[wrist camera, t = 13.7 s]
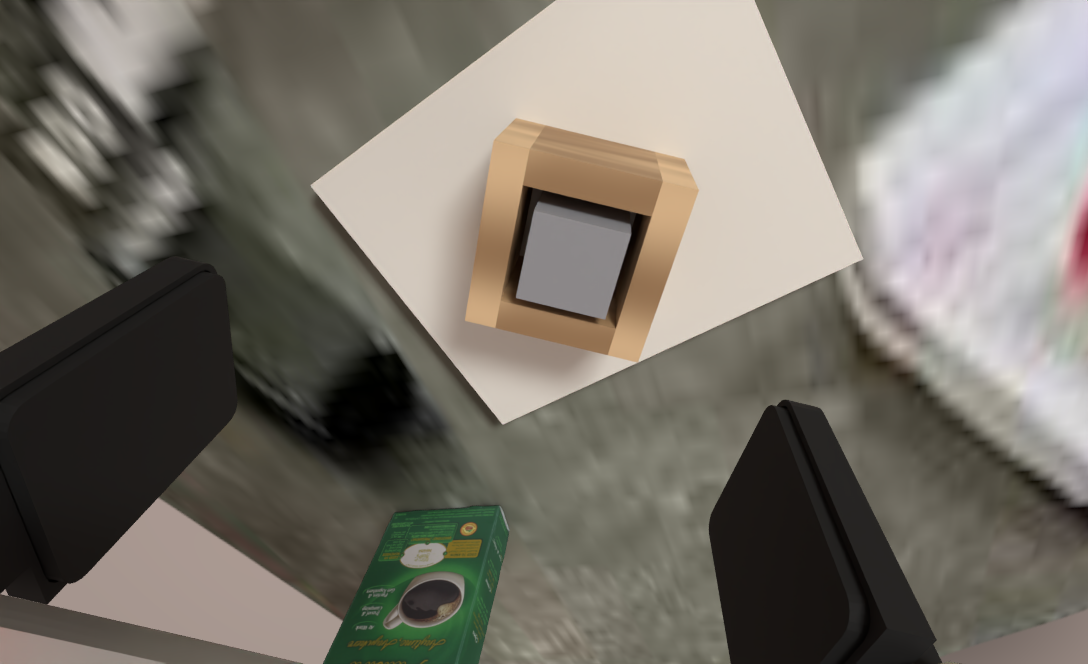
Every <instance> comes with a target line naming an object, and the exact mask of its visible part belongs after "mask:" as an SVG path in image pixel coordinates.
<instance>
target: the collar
mask: <svg viewBox="0 0 1088 664" xmlns="http://www.w3.org/2000/svg"><path fill="white" fill-rule="evenodd" d="M533 188H536V189H540V190H544V191H549V192H553V193H557V194H561V195H565V196H569V197H573V198H577V199H582V200H586V201H590V202H594V203H598V204H602V205H606V206H610V207H614V208H619V209H623V210H627V211H631V212H635V213H636V216H635V219H634V223H633V226H632V229H631V237H630V240H629V243H628V247H627V250H626V253H625V256H624V260H623V263H622V266H621V269H620V273H619V276H618V279H617V283H616V286H615V289H614V292H613V296H612V299H611V302H610V305H609V309H608V312H607V315H606V319H605V320H604V319H600V318H596V317H592V316H588V315H584V314H580V313H576V312H571V311H567V310H563V309H559V308H555V307H551V306H547V305H543V304H539V303H534V302H530V301H526V300H522V299H518V298H516V294H517V290H518V285H519V280H520V275H521V270H522V266H523V261H524V256H520V250H521V245H522V240H523V235H524V230H525V225H526V220H527V215H528V210H529V205H530V200H531V195H532V190H533ZM698 192H699V189H698V187H697V185H696V183H695V181H694V178H693V176H692V174H691V172H690V170H689V168H688V165H687V163H686V161H685V159H682V158H678V157H674V156H670V155H666V154H662V153H658V152H654V151H650V150H645V149H641V148H637V147H633V146H629V145H625V144H621V143H617V142H613V141H608V140H604V139H600V138H596V137H592V136H588V135H584V134H580V133H576V132H572V131H567V130H563V129H559V128H555V127H551V126H547V125H543V124H539V123H535V122H530V121H526V120H522V119H518V118H516V119H515V120H514V121H513V122H512V123H511V124H510V125H508V126H507V127H506V128H505V129H504V130H503V131H502V132H501V133H500V134H499V135H498V136H497V137H496V138H495V139H494V141H493V147H492V153H491V160H490V166H489V172H488V178H487V185H486V191H485V197H484V203H483V210H482V216H481V222H480V229H479V235H478V241H477V247H476V254H475V260H474V266H473V272H472V279H471V285H470V291H469V298H468V304H467V310H466V316H465V321H468V322H472V323H476V324H481V325H485V326H489V327H493V328H497V329H501V330H505V331H509V332H514V333H518V334H522V335H526V336H530V337H534V338H538V339H543V340H547V341H551V342H555V343H559V344H563V345H567V346H571V347H576V348H580V349H584V350H588V351H592V352H596V353H600V354H604V355H609V356H613V357H617V358H621V359H625V360H629V361H633V362H638V361H639V358H640V356H641V353H642V350H643V347H644V344H645V342H646V339H647V336H648V333H649V330H650V327H651V325H652V322H653V319H654V316H655V313H656V310H657V308H658V305H659V302H660V299H661V296H662V293H663V291H664V288H665V285H666V282H667V279H668V277H669V274H670V271H671V268H672V265H673V262H674V260H675V257H676V254H677V251H678V248H679V245H680V243H681V240H682V237H683V234H684V231H685V228H686V226H687V223H688V220H689V217H690V214H691V212H692V209H693V206H694V203H695V200H696V197H697V195H698Z"/></svg>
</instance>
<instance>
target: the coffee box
mask: <svg viewBox="0 0 1088 664" xmlns="http://www.w3.org/2000/svg"><path fill="white" fill-rule="evenodd" d="M508 535H509V527H508V524H507V521H506V518H505V515H504V512H503V510H502V508H501V507H500V506H471V507H468V508H457V509H441V510H428V511H425V510H417V511H411V512H395V513H394V514H393V517H392V519H391V521H390V523H389V524H388V526H387V528H386V531H385V533H384V535H383V537H382V540H381V542H380V545H379V547H378V549H377V551H376V553H375V555H374V557H373V559H372V561H371V564H370V565H369V568H368V570H367V572H366V574H365V576H364V578H363V581H362V583H361V585H360V587H359V589H358V591H357V593H356V595H355V597H354V599H353V601H352V603H351V605H350V607H349V610H348V612H347V614H346V616H345V618H344V620H343V622H342V624H341V627H340V629H339V631H338V633H337V635H336V637H335V639H334V641H333V643H332V645H331V648H330V650H329V652H328V654H327V656H326V658H325V660H324V662H323V664H478V663H479V659H480V655H481V651H482V646H483V642H484V638H485V634H486V630H487V626H488V621H489V617H490V613H491V609H492V605H493V601H494V596H495V593H496V588H497V584H498V581H499V575H500V570H501V566H502V563H503V559H504V555H505V550H506V545H507V540H508Z"/></svg>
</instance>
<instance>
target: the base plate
mask: <svg viewBox="0 0 1088 664" xmlns="http://www.w3.org/2000/svg"><path fill="white" fill-rule="evenodd" d="M516 118H518V119H522V120H526V121H530V122H535V123H539V124H543V125H547V126H551V127H555V128H559V129H563V130H567V131H572V132H576V133H580V134H584V135H588V136H592V137H596V138H600V139H604V140H608V141H613V142H617V143H621V144H625V145H629V146H633V147H637V148H641V149H645V150H650V151H654V152H658V153H662V154H666V155H670V156H674V157H678V158H682V159H685V161H686V163H687V165H688V168H689V170H690V172H691V174H692V176H693V178H694V181H695V183H696V185H697V187H698V189H699V192H698V195H697V197H696V200H695V203H694V206H693V209H692V212H691V214H690V217H689V220H688V223H687V226H686V228H685V231H684V234H683V237H682V240H681V243H680V245H679V248H678V251H677V254H676V257H675V260H674V262H673V265H672V268H671V271H670V274H669V277H668V279H667V282H666V285H665V288H664V291H663V293H662V296H661V299H660V302H659V305H658V308H657V310H656V313H655V316H654V319H653V322H652V325H651V327H650V330H649V333H648V336H647V339H646V342H645V344H644V347H643V350H642V353H641V356H640V358H639V361H638V362H640V361H642V360H644V359H647V358H649V357H651V356H653V355H655V354H658V353H660V352H662V351H664V350H666V349H668V348H671V347H673V346H675V345H677V344H679V343H681V342H684V341H686V340H688V339H690V338H692V337H695V336H697V335H699V334H701V333H703V332H705V331H708V330H710V329H712V328H714V327H716V326H718V325H721V324H723V323H725V322H727V321H729V320H731V319H734V318H736V317H738V316H740V315H742V314H745V313H747V312H749V311H751V310H753V309H755V308H758V307H760V306H762V305H764V304H766V303H768V302H771V301H773V300H775V299H777V298H779V297H782V296H784V295H786V294H788V293H790V292H792V291H795V290H797V289H799V288H801V287H803V286H805V285H808V284H810V283H812V282H814V281H816V280H819V279H821V278H823V277H825V276H827V275H829V274H832V273H834V272H836V271H838V270H840V269H842V268H845V267H847V266H849V265H851V264H853V263H856V262H858V261H860V260H862V259H863V257H862V255H861V253H860V250H859V248H858V246H857V243H856V241H855V238H854V236H853V234H852V231H851V229H850V227H849V224H848V222H847V219H846V217H845V215H844V212H843V210H842V208H841V205H840V203H839V200H838V198H837V196H836V193H835V191H834V189H833V186H832V184H831V181H830V179H829V177H828V174H827V172H826V170H825V167H824V165H823V162H822V160H821V158H820V155H819V153H818V151H817V148H816V146H815V143H814V141H813V139H812V136H811V134H810V132H809V129H808V127H807V124H806V122H805V120H804V117H803V115H802V113H801V110H800V108H799V106H798V103H797V101H796V98H795V96H794V94H793V91H792V89H791V87H790V84H789V82H788V79H787V77H786V75H785V72H784V70H783V68H782V65H781V63H780V60H779V58H778V56H777V53H776V51H775V49H774V46H773V44H772V41H771V39H770V37H769V34H768V32H767V30H766V27H765V25H764V22H763V20H762V18H761V15H760V13H759V11H758V8H757V6H756V3H755V1H754V0H556V1H555V2H553V3H552V4H551V5H549V6H548V7H547V8H545V9H544V10H543V11H541V12H540V13H539V14H537V15H536V16H535V17H533V18H532V19H531V20H529V21H528V22H527V23H525V24H524V25H523V26H521V27H520V28H519V29H517V30H516V31H515V32H513V33H512V34H511V35H509V36H508V37H507V38H505V39H504V40H503V41H502V42H500V43H499V44H498V45H496V46H495V47H494V48H492V49H491V50H490V51H488V52H487V53H486V54H484V55H483V56H482V57H480V58H479V59H478V60H476V61H475V62H474V63H472V64H471V65H470V66H468V67H467V68H466V69H464V70H463V71H462V72H460V73H459V74H458V75H456V76H455V77H454V78H452V79H451V80H450V81H448V82H447V83H446V84H444V85H443V86H442V87H440V88H439V89H438V90H436V91H435V92H434V93H433V94H431V95H430V96H429V97H427V98H426V99H425V100H423V101H422V102H421V103H419V104H418V105H417V106H415V107H414V108H413V109H411V110H410V111H409V112H407V113H406V114H405V115H403V116H402V117H401V118H399V119H398V120H397V121H395V122H394V123H393V124H391V125H390V126H389V127H387V128H386V129H385V130H383V131H382V132H381V133H379V134H378V135H377V136H375V137H374V138H373V139H371V140H370V141H369V142H367V143H366V144H365V145H363V146H362V147H361V148H360V149H358V150H357V151H356V152H354V153H353V154H352V155H350V156H349V157H348V158H346V159H345V160H344V161H342V162H341V163H340V164H338V165H337V166H336V167H334V168H333V169H332V170H330V171H329V172H328V173H326V174H325V175H324V176H322V177H321V178H320V179H318V180H317V181H316V182H314V183H313V184H312V185H310V186H311V187H312V188H313V189H314V191H315V192H316V193H317V194H318V196H319V197H320V198H321V199H322V201H323V202H324V203H325V204H326V206H327V207H328V208H329V209H330V211H331V212H332V213H333V214H334V216H335V217H336V218H337V219H338V221H339V222H340V223H341V224H342V226H343V227H344V228H345V229H346V231H347V232H348V233H349V234H350V235H351V237H352V238H353V239H354V240H355V242H356V243H357V244H358V245H359V247H360V248H361V249H362V250H363V252H364V253H365V254H366V255H367V257H368V258H369V259H370V260H371V262H372V263H373V264H374V265H375V267H376V268H377V269H378V270H379V272H380V273H381V274H382V275H383V276H384V278H385V279H386V280H387V281H388V283H389V284H390V285H391V286H392V288H393V289H394V290H395V291H396V293H397V294H398V295H399V296H400V298H401V299H402V300H403V301H404V303H405V304H406V305H407V306H408V308H409V309H410V310H411V311H412V313H413V314H414V315H415V316H416V317H417V319H418V320H419V321H420V322H421V324H422V325H423V326H424V327H425V329H426V330H427V331H428V332H429V334H430V335H431V336H432V337H433V339H434V340H435V341H436V342H437V344H438V345H439V346H440V347H441V349H442V350H443V351H444V352H445V354H446V355H447V356H448V357H449V359H450V360H451V361H452V362H453V363H454V365H455V366H456V367H457V368H458V370H459V371H460V372H461V373H462V375H463V376H464V377H465V378H466V380H467V381H468V382H469V383H470V385H471V386H472V387H473V388H474V390H475V391H476V392H477V393H478V395H479V396H480V397H481V398H482V400H483V401H484V402H485V403H486V404H487V406H488V407H489V408H490V409H491V411H492V412H493V413H494V414H495V416H496V417H497V418H498V419H499V421H500V422H501V423H502V424H505V423H507V422H510V421H512V420H514V419H516V418H518V417H520V416H523V415H525V414H527V413H529V412H531V411H534V410H536V409H538V408H540V407H542V406H544V405H547V404H549V403H551V402H553V401H555V400H557V399H560V398H562V397H564V396H566V395H568V394H570V393H573V392H575V391H577V390H579V389H581V388H584V387H586V386H588V385H590V384H592V383H594V382H597V381H599V380H601V379H603V378H605V377H607V376H610V375H612V374H614V373H616V372H618V371H621V370H623V369H625V368H627V367H629V366H631V365H634V364H636V363H638V362H633V361H629V360H625V359H621V358H617V357H613V356H609V355H604V354H600V353H596V352H592V351H588V350H584V349H580V348H576V347H571V346H567V345H563V344H559V343H555V342H551V341H547V340H543V339H538V338H534V337H530V336H526V335H522V334H518V333H514V332H509V331H505V330H501V329H497V328H493V327H489V326H485V325H481V324H476V323H472V322H468V321H465V316H466V310H467V304H468V298H469V291H470V285H471V279H472V272H473V266H474V260H475V254H476V247H477V241H478V235H479V229H480V222H481V216H482V210H483V203H484V197H485V191H486V185H487V178H488V172H489V166H490V160H491V153H492V147H493V141H494V139H495V138H496V137H497V136H498V135H499V134H500V133H501V132H502V131H503V130H504V129H505V128H506V127H507V126H508V125H510V124H511V123H512V122H513V121H514V120H515V119H516ZM635 216H636V213H635V212H631V211H627V210H623V209H619V208H614V207H610V206H606V205H602V204H598V203H594V202H590V201H586V200H582V199H577V198H573V197H569V196H565V195H561V194H557V193H553V192H549V191H544V190H540V189H536V188H533V190H532V195H531V200H530V205H529V210H528V215H527V220H526V225H525V230H524V235H523V240H522V245H521V250H520V256H524V261H523V266H522V270H521V275H520V280H519V285H518V290H517V294H516V298H518V299H522V300H526V301H530V302H534V303H539V304H543V305H547V306H551V307H555V308H559V309H563V310H567V311H571V312H576V313H580V314H584V315H588V316H592V317H596V318H600V319H604V320H605V319H606V315H607V312H608V309H609V305H610V302H611V299H612V296H613V292H614V289H615V286H616V283H617V279H618V276H619V273H620V269H621V266H622V263H623V260H624V256H625V253H626V250H627V247H628V243H629V240H630V237H631V229H632V226H633V223H634V219H635Z"/></svg>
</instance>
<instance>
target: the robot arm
mask: <svg viewBox="0 0 1088 664" xmlns="http://www.w3.org/2000/svg"><path fill="white" fill-rule="evenodd" d="M236 408H237V390H236V381H235V371H234V361H233V352H232V342H231V332H230V323H229V313H228V303H227V294H226V285H225V281H224V279H223V277H221V276H220V275H217V272H216V270H215V268H214V267H213V266H212V265H210V264H207V263H202V262H198V261H194V260H190V259H185V258H181V257H174V256H173V257H170V258H167V259H166V260H164V261H162V262H160V263H158V264H157V265H155V266H153V267H151V268H150V269H148V270H146V271H144V272H142V273H141V274H139V275H137V276H135V277H134V278H132V279H130V280H128V281H126V282H125V283H123V284H121V285H119V286H118V287H116V288H114V289H112V290H110V291H109V292H107V293H105V294H103V295H102V296H100V297H98V298H96V299H94V300H93V301H91V302H89V303H87V304H85V305H84V306H82V307H80V308H78V309H77V310H75V311H73V312H71V313H69V314H68V315H66V316H64V317H62V318H61V319H59V320H57V321H55V322H53V323H52V324H50V325H48V326H46V327H45V328H43V329H41V330H39V331H37V332H36V333H34V334H32V335H30V336H29V337H27V338H25V339H23V340H21V341H20V342H18V343H16V344H14V345H13V346H11V347H9V348H7V349H5V350H4V351H2V352H0V593H2V592H3V591H4V589H6V591H7V593H8V595H9V596H5V595H1V594H0V664H302V663H298V662H293V661H289V660H285V659H281V658H277V657H272V656H268V655H264V654H260V653H255V652H251V651H247V650H242V649H238V648H233V647H229V646H225V645H221V644H216V643H212V642H207V641H203V640H199V639H195V638H190V637H186V636H182V635H177V634H173V633H168V632H164V631H160V630H155V629H150V628H146V627H142V626H137V625H133V624H129V623H125V622H120V621H116V620H111V619H107V618H102V617H98V616H94V615H90V614H85V613H81V612H76V611H72V610H67V609H63V608H59V607H54V606H50V605H47V604H48V603H49V602H50V601H51V600H52V599H53V598H54V597H55V596H56V595H57V594H58V593H59V592H60V590H62V588H63V587H64V586H65V585H66V584H67V583H69V584H71V583H74V582H77V581H78V580H80V579H82V578H83V576H85V575H86V574H87V573H88V572H89V571H90V570H91V569H92V568H93V567H94V566H95V565H96V563H97V562H98V561H99V560H100V559H101V558H102V557H103V556H104V555H105V553H107V552H108V551H109V550H110V548H111V547H112V546H113V545H114V544H115V543H116V542H117V541H118V540H119V539H120V537H122V535H124V534H125V532H126V531H127V530H128V529H129V528H130V527H131V526H132V525H133V524H134V523H135V522H136V521H137V520H138V519H139V517H140V516H141V515H142V514H143V513H144V512H145V511H146V510H147V509H148V508H149V507H150V506H151V505H152V504H153V503H154V502H155V500H156V499H157V498H158V497H159V496H160V495H161V494H162V493H163V492H164V491H165V490H166V489H167V488H168V487H169V485H170V484H171V483H172V482H173V481H174V480H175V479H176V478H177V477H178V476H179V475H180V474H181V473H182V472H183V471H184V469H185V468H186V467H187V466H188V465H189V464H190V463H191V462H192V461H193V460H194V459H195V458H196V457H197V456H198V454H199V453H200V452H201V451H202V450H203V449H204V448H205V447H206V446H207V445H208V444H209V443H210V442H211V441H212V440H213V438H214V437H215V436H216V435H217V434H218V433H219V432H220V431H221V430H222V429H223V428H224V427H225V426H226V425H227V424H228V422H229V421H230V420H231V419H232V417H233V415H234V413H235V411H236ZM709 536H710V542H711V548H712V554H713V560H714V566H715V572H716V578H717V584H718V590H719V595H720V601H721V607H722V613H723V619H724V625H725V631H726V637H727V643H728V649H729V655H730V661H731V664H961V663H954V662H945V663H942V661H941V659H940V657H939V655H938V653H937V651H936V649H935V647H934V645H933V643H934V642H935V641H936V638H935V636H934V634H933V632H932V630H931V628H930V626H929V624H928V622H927V620H926V618H925V616H924V614H923V612H922V610H921V608H920V606H919V604H918V602H917V600H916V598H915V596H914V594H913V592H912V590H911V588H910V586H909V584H908V582H907V580H906V578H905V576H904V574H903V572H902V570H901V568H900V566H899V564H898V562H897V560H896V557H895V555H894V553H893V551H892V549H891V547H890V545H889V543H888V541H887V539H886V537H885V535H884V533H883V531H882V529H881V527H880V525H879V523H878V521H877V519H876V517H875V515H874V513H873V511H872V509H871V507H870V505H869V503H868V501H867V499H866V497H865V495H864V493H863V491H862V489H861V487H860V485H859V483H858V481H857V479H856V477H855V475H854V473H853V471H852V469H851V467H850V465H849V463H848V461H847V459H846V457H845V455H844V453H843V451H842V449H841V447H840V445H839V443H838V441H837V439H836V437H835V435H834V433H833V431H832V429H831V427H830V425H829V423H828V421H827V419H826V417H825V415H824V413H823V411H822V410H821V409H820V408H818V407H815V406H810V405H806V404H802V403H798V402H793V401H789V400H782V401H781V402H780V403H779V404H778V405H777V406H773V405H771V406H768V407H767V408H766V410H765V411H764V413H763V415H762V417H761V419H760V421H759V423H758V424H757V426H756V428H755V430H754V432H753V434H752V436H751V438H750V440H749V442H748V444H747V446H746V448H745V449H744V451H743V453H742V455H741V457H740V459H739V461H738V463H737V465H736V467H735V469H734V471H733V473H732V474H731V476H730V478H729V480H728V482H727V484H726V486H725V488H724V490H723V492H722V494H721V496H720V498H719V500H718V501H717V503H716V505H715V507H714V509H713V511H712V514H711V517H710V522H709ZM10 596H12V597H10ZM15 597H17V598H15ZM19 598H21V599H19ZM24 599H25V600H24ZM28 600H29V601H28ZM33 601H34V602H33ZM37 602H38V603H37ZM41 603H42V604H41Z"/></svg>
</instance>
